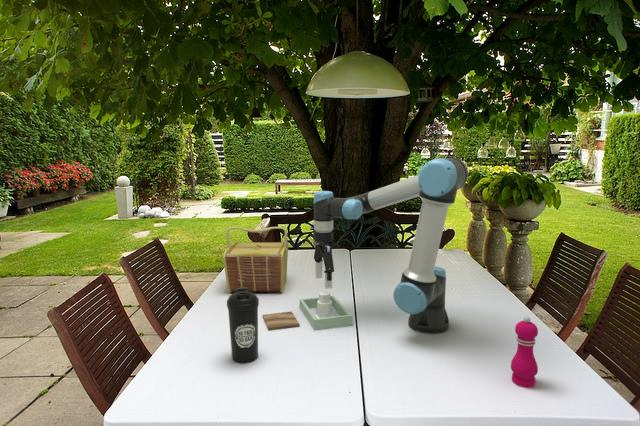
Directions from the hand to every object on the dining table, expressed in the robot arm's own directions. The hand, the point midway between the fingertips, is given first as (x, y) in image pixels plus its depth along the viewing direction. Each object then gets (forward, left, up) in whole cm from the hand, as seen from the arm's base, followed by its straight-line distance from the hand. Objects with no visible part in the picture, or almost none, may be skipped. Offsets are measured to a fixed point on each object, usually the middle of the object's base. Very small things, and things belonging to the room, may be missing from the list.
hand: (323, 282), depth 185 cm
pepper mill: (-66, -41, -14) cm, 79 cm away
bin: (0, 0, -14) cm, 14 cm away
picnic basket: (+45, +20, -14) cm, 51 cm away
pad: (0, +18, -14) cm, 23 cm away
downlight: (0, 0, -14) cm, 14 cm away
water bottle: (-26, +35, -14) cm, 46 cm away
